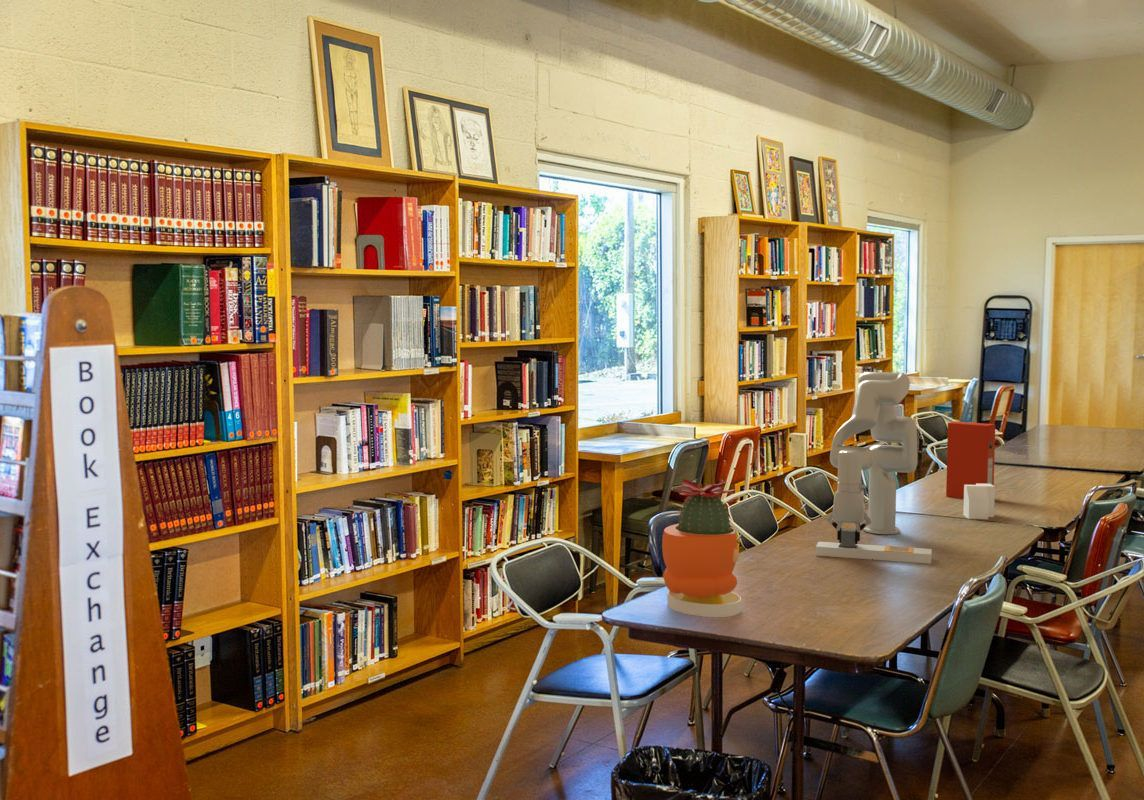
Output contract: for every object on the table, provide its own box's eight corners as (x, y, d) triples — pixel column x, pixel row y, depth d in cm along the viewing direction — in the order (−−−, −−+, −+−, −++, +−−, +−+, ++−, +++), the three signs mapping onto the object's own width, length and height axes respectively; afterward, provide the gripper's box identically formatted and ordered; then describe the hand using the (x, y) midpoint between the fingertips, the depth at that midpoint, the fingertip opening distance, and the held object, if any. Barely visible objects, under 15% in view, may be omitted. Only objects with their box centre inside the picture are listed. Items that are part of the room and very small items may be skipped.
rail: (818, 550, 364) (818, 540, 364) (931, 558, 353) (931, 548, 352) (815, 555, 357) (815, 545, 357) (931, 563, 345) (931, 553, 345)
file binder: (985, 501, 455) (987, 425, 452) (945, 496, 467) (947, 422, 464) (993, 499, 461) (995, 424, 458) (953, 494, 473) (955, 421, 470)
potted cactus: (690, 594, 309) (691, 472, 306) (756, 608, 294) (758, 480, 291) (641, 609, 294) (642, 480, 291) (708, 625, 278) (709, 490, 275)
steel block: (842, 551, 360) (842, 528, 360) (855, 552, 359) (856, 528, 358) (840, 554, 356) (841, 530, 356) (854, 555, 355) (855, 531, 354)
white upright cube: (989, 513, 428) (990, 483, 427) (997, 519, 417) (998, 488, 416) (961, 513, 430) (962, 483, 429) (968, 518, 418) (969, 487, 417)
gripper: (876, 487, 356) (875, 542, 358) (824, 484, 362) (823, 538, 364) (875, 491, 349) (874, 547, 351) (821, 488, 355) (821, 543, 357)
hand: (848, 542), depth 357 cm, fingers closed on steel block, 4 cm apart
